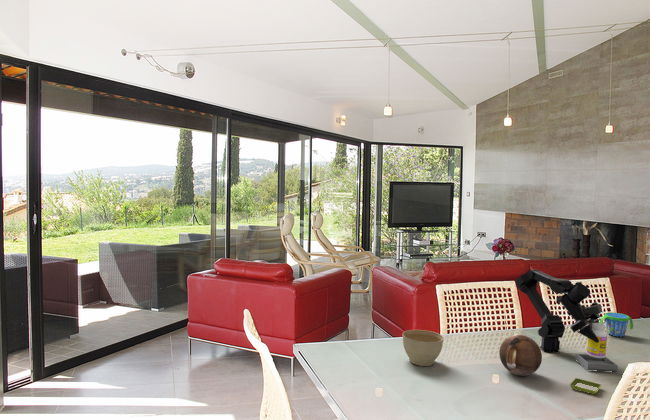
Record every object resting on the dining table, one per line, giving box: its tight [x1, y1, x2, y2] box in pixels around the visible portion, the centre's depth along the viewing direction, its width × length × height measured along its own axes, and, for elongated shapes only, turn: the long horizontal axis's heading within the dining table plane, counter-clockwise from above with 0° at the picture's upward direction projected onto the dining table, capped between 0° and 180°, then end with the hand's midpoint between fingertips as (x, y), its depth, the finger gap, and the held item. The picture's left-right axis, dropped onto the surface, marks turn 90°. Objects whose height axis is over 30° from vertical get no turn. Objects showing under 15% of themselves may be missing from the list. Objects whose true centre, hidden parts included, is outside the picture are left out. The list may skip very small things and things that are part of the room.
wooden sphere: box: [498, 334, 543, 377], centre depth 184 cm, size 15×15×15 cm
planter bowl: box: [402, 329, 444, 367], centre depth 194 cm, size 16×16×11 cm
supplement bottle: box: [586, 322, 608, 358], centre depth 195 cm, size 7×7×13 cm
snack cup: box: [599, 312, 634, 338], centre depth 239 cm, size 16×10×10 cm
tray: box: [575, 353, 619, 373], centre depth 195 cm, size 11×11×3 cm
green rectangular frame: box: [569, 377, 602, 395], centre depth 173 cm, size 9×9×2 cm
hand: (601, 340), depth 194 cm, fingers closed on supplement bottle, 7 cm apart
